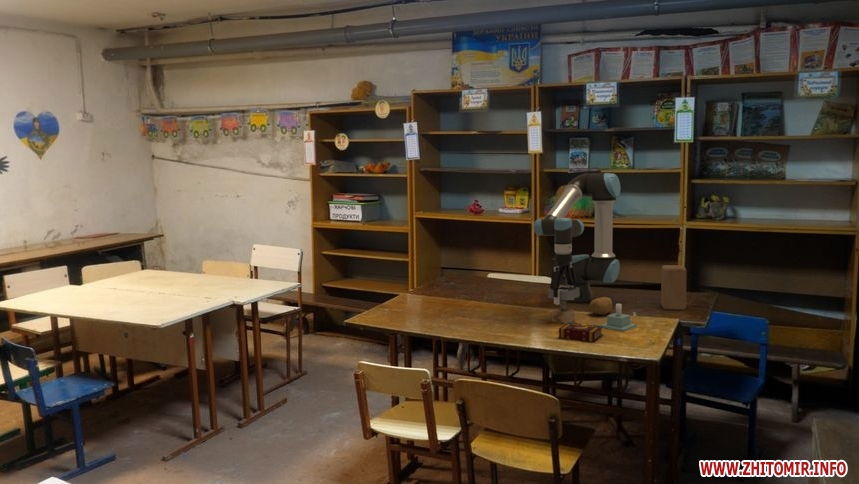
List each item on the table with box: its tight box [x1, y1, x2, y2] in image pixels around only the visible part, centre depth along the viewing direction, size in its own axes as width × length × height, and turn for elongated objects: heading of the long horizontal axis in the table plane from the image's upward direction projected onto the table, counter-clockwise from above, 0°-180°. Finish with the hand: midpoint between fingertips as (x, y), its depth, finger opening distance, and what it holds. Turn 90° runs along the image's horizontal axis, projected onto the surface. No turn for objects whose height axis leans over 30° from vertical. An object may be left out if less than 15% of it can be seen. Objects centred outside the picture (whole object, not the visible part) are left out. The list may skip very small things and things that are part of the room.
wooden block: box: [660, 264, 687, 311], centre depth 315 cm, size 10×10×20 cm
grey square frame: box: [547, 284, 580, 302], centre depth 295 cm, size 10×10×4 cm
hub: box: [599, 303, 638, 333], centre depth 282 cm, size 11×11×10 cm
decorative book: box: [558, 321, 604, 343], centre depth 269 cm, size 11×16×5 cm
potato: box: [589, 296, 613, 316], centre depth 306 cm, size 10×14×8 cm
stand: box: [551, 300, 575, 325], centre depth 295 cm, size 7×7×9 cm
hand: (563, 301), depth 295 cm, fingers closed on grey square frame, 10 cm apart
